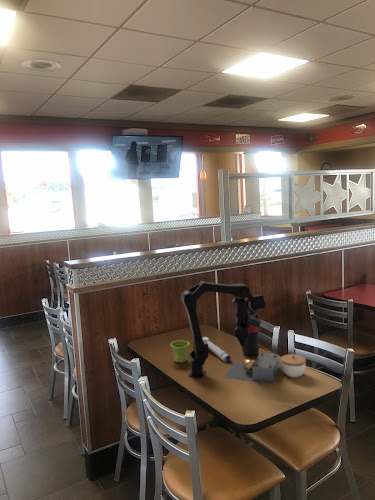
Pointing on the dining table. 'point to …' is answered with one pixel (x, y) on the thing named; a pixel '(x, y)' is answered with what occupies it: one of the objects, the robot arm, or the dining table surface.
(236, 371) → the mat
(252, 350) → the cola bottle
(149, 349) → the dining table surface
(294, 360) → the lidded jar
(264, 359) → the plate
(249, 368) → the silver and amber cylinder
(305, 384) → the dining table surface
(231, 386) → the dining table surface
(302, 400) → the dining table surface
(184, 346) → the plant pot
